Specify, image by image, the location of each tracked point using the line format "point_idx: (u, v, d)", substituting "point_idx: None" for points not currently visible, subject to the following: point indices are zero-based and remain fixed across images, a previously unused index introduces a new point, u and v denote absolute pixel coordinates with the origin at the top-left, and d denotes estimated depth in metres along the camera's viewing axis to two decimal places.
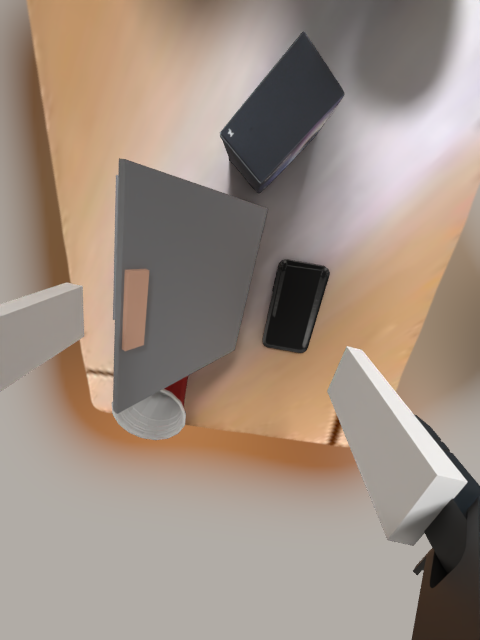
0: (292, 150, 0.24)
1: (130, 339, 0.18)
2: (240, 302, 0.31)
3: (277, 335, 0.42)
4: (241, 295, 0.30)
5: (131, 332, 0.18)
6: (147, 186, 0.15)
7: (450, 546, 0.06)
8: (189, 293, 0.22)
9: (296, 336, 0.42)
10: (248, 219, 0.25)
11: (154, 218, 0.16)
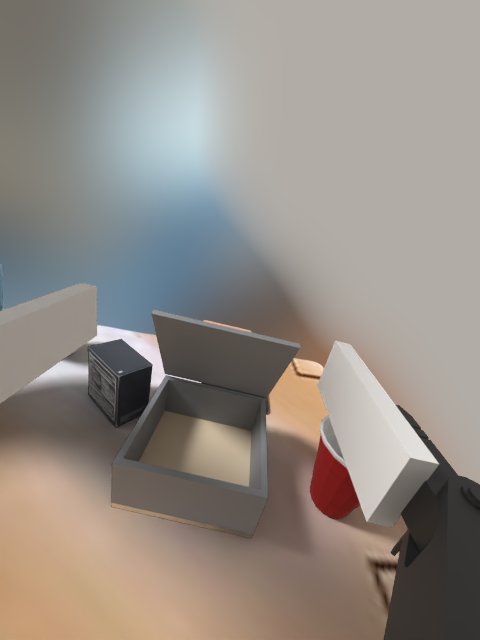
0: (139, 354, 0.44)
1: None
2: None
3: None
4: None
5: None
6: None
7: (423, 526, 0.06)
8: None
9: None
10: None
11: None
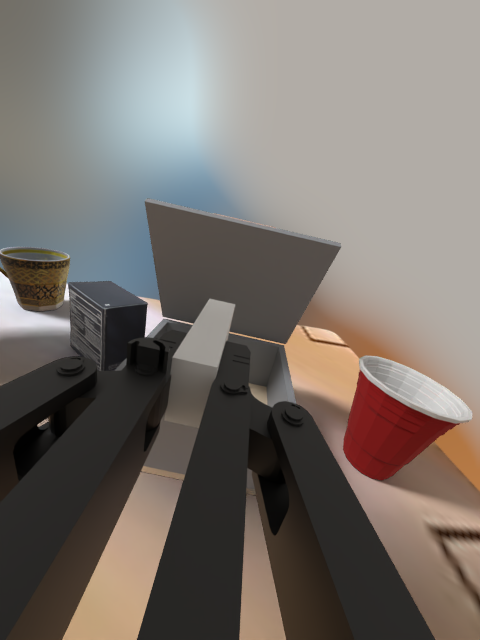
0: None
1: None
2: None
3: None
4: None
5: None
6: None
7: None
8: None
9: None
10: None
11: None
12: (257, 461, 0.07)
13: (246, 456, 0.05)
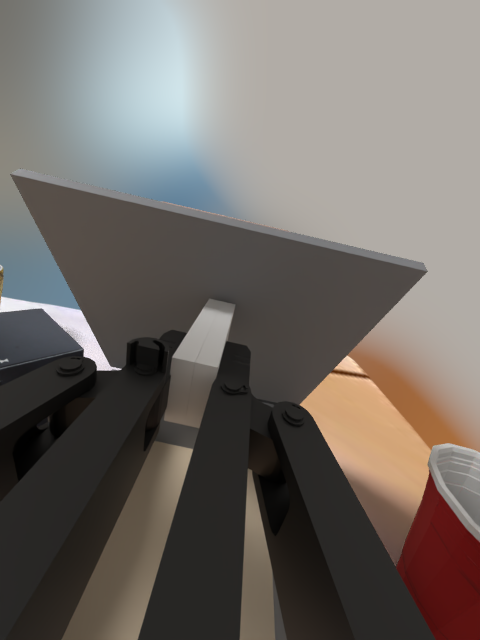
0: (64, 332, 0.24)
1: None
2: None
3: None
4: None
5: None
6: None
7: None
8: None
9: None
10: None
11: None
12: (257, 461, 0.07)
13: (246, 456, 0.05)
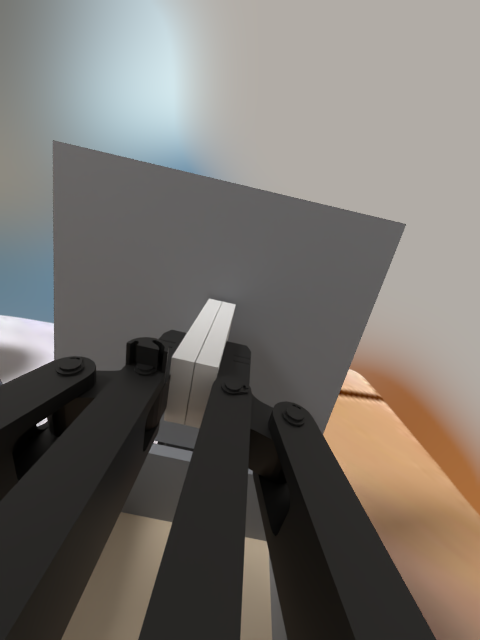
0: None
1: None
2: None
3: None
4: None
5: None
6: None
7: None
8: None
9: None
10: None
11: None
12: (258, 462, 0.07)
13: (247, 456, 0.05)
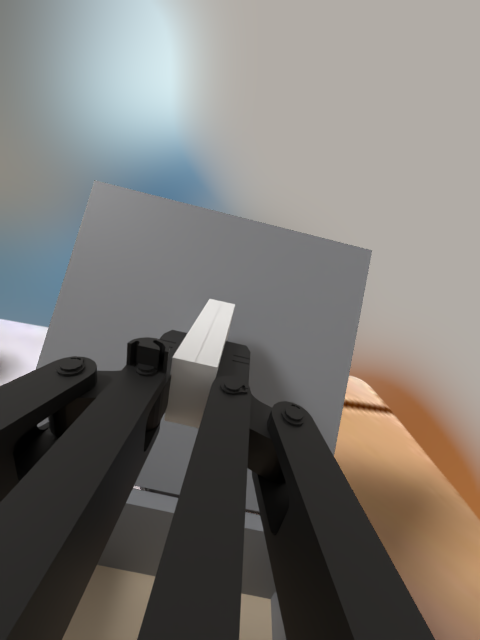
0: None
1: None
2: None
3: None
4: None
5: None
6: None
7: None
8: None
9: None
10: None
11: None
12: (257, 461, 0.07)
13: (246, 456, 0.05)
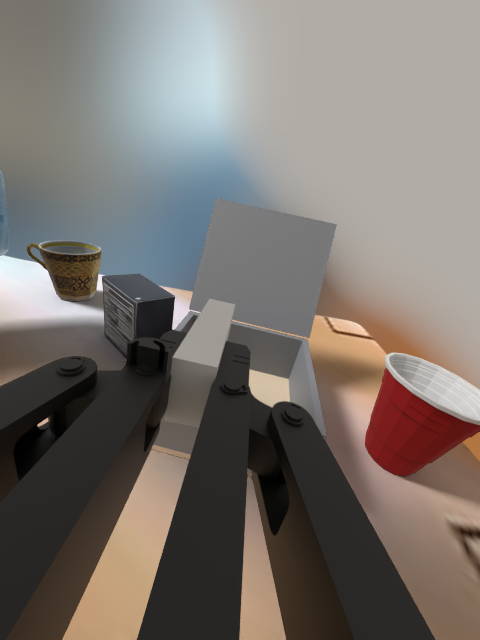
0: None
1: None
2: None
3: None
4: None
5: None
6: None
7: None
8: None
9: None
10: None
11: None
12: (257, 461, 0.07)
13: (246, 456, 0.05)
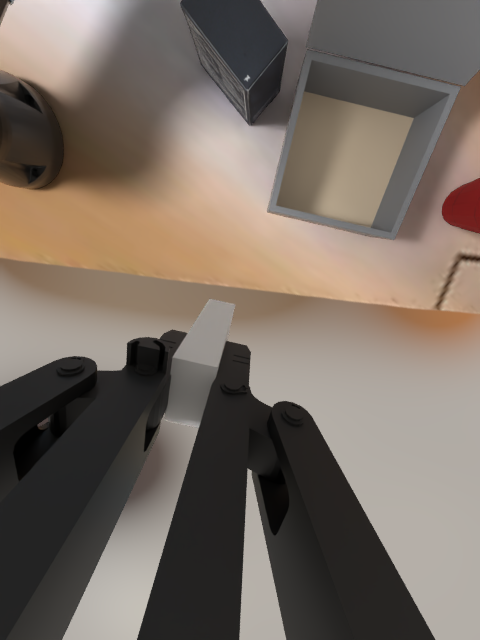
0: (261, 4, 0.25)
1: None
2: None
3: None
4: None
5: None
6: None
7: None
8: None
9: None
10: None
11: None
12: (257, 461, 0.07)
13: (246, 456, 0.05)
